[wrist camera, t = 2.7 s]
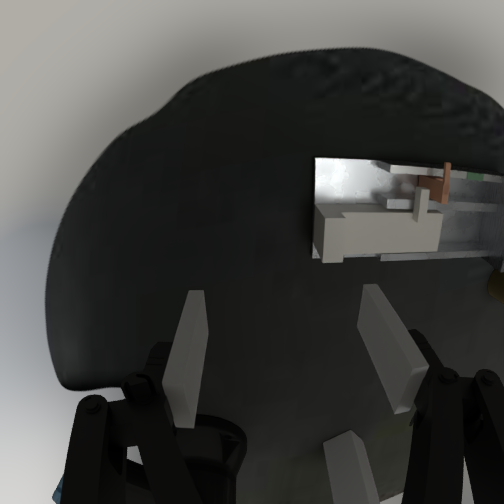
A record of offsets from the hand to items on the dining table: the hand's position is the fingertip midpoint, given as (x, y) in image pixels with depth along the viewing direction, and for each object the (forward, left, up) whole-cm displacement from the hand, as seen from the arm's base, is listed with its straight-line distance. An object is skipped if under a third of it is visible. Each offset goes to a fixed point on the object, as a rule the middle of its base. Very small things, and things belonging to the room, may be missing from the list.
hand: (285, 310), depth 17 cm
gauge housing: (+18, 0, -19) cm, 26 cm away
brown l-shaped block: (+18, +4, -18) cm, 26 cm away
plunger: (+12, 0, -18) cm, 22 cm away
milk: (+15, -45, -20) cm, 51 cm away
